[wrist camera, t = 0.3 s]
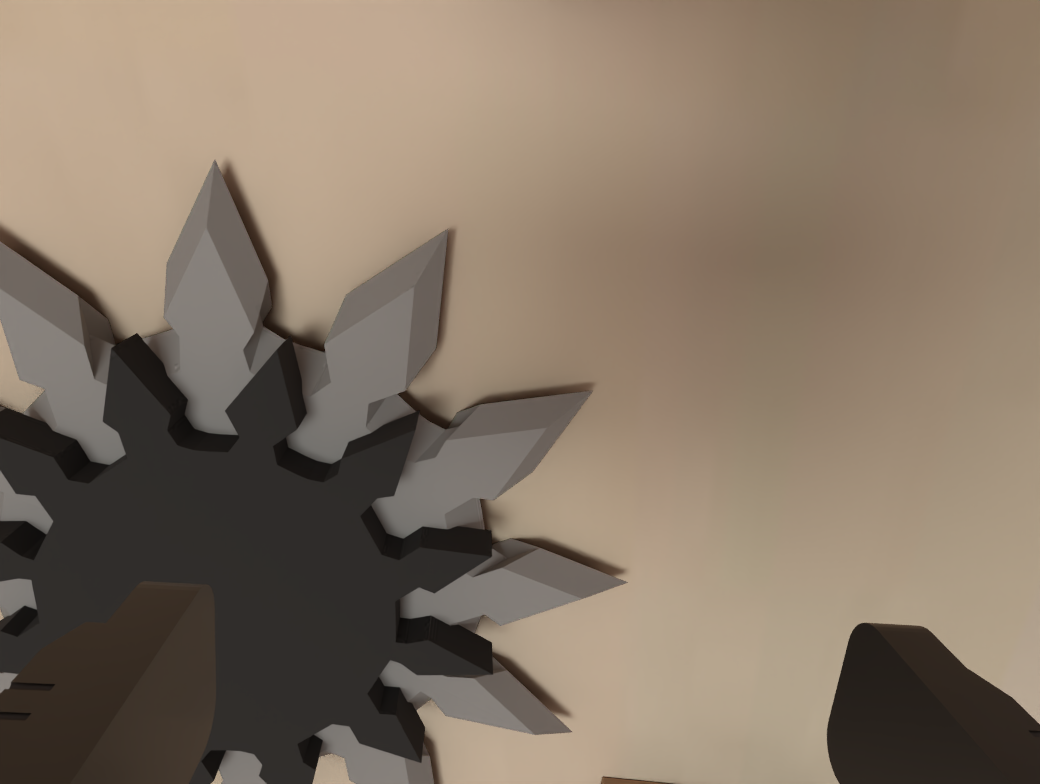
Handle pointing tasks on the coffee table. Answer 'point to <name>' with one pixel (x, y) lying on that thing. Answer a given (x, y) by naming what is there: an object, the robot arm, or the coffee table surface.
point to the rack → (624, 781)
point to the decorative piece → (276, 505)
